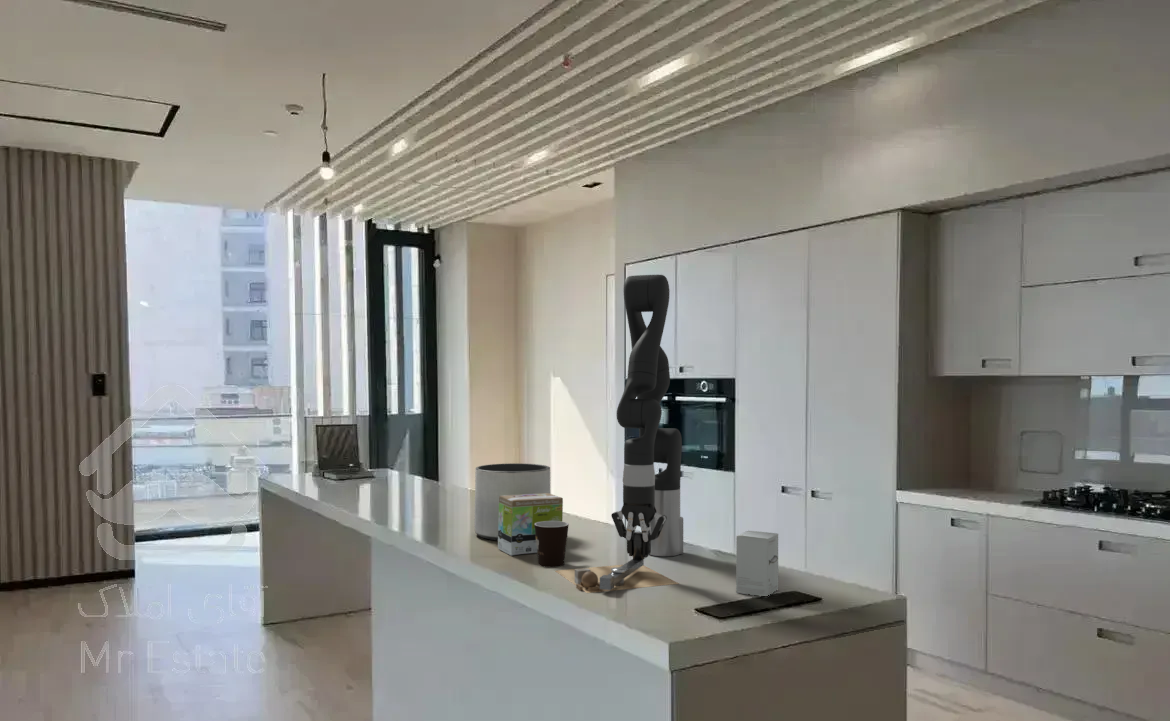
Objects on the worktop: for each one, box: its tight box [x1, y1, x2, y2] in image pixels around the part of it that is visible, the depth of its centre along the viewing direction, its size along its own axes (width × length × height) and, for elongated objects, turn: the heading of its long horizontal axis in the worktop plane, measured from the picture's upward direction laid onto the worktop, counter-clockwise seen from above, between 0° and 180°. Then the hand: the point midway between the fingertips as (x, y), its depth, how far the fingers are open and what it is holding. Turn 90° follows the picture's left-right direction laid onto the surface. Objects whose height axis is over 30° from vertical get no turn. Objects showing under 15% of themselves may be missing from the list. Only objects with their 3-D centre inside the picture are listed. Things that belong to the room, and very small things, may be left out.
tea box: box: [497, 493, 564, 556], centre depth 220 cm, size 15×10×15 cm, turn 117°
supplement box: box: [735, 530, 779, 597], centre depth 178 cm, size 7×7×13 cm
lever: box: [600, 531, 646, 590], centre depth 182 cm, size 24×3×8 cm, turn 158°
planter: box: [473, 462, 551, 542], centre depth 241 cm, size 23×23×20 cm
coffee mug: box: [534, 521, 570, 568], centre depth 205 cm, size 12×9×10 cm
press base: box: [554, 564, 680, 594], centre depth 185 cm, size 23×21×4 cm
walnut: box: [582, 571, 598, 588], centre depth 176 cm, size 4×4×4 cm
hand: (638, 555), depth 192 cm, fingers closed on lever, 3 cm apart
